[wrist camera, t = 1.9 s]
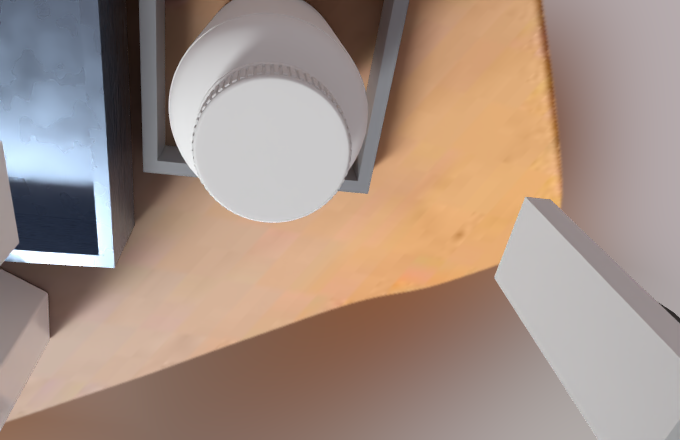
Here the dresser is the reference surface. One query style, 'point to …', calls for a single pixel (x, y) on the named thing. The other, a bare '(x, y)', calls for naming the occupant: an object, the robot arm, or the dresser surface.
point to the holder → (153, 93)
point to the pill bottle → (268, 109)
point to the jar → (20, 336)
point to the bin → (67, 129)
